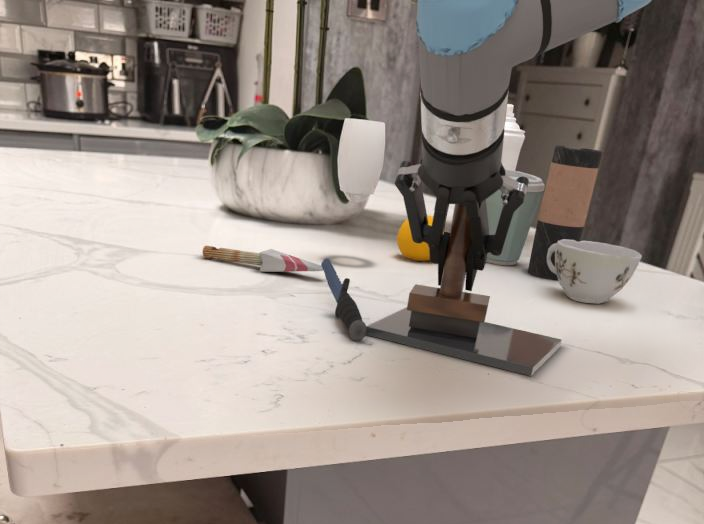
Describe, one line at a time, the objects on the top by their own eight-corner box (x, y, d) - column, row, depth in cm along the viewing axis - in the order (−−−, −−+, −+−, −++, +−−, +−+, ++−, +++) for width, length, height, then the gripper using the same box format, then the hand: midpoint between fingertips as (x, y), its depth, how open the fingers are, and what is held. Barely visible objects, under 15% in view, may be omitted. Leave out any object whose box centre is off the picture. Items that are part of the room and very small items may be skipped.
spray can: (453, 241, 152) (478, 100, 140) (461, 234, 161) (485, 101, 149) (511, 251, 150) (542, 107, 138) (516, 243, 159) (545, 108, 146)
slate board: (560, 347, 93) (562, 339, 93) (530, 376, 82) (533, 367, 82) (409, 312, 101) (411, 305, 100) (364, 334, 90) (365, 326, 89)
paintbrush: (320, 261, 108) (198, 243, 115) (319, 280, 109) (199, 262, 116) (331, 257, 111) (212, 240, 118) (329, 276, 112) (212, 258, 119)
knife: (355, 308, 84) (343, 349, 87) (375, 311, 85) (362, 352, 88) (318, 238, 103) (309, 274, 106) (335, 242, 104) (326, 277, 107)
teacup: (643, 307, 118) (659, 253, 114) (595, 313, 111) (611, 257, 107) (564, 283, 128) (577, 233, 124) (515, 287, 121) (527, 235, 117)
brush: (483, 329, 92) (508, 206, 85) (480, 339, 88) (507, 211, 81) (410, 317, 94) (429, 195, 87) (404, 327, 89) (423, 200, 83)
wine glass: (379, 263, 126) (397, 124, 116) (354, 268, 121) (371, 122, 111) (343, 254, 130) (358, 118, 120) (318, 259, 124) (331, 117, 114)
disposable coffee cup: (539, 266, 138) (560, 177, 131) (501, 270, 132) (521, 176, 124) (494, 254, 145) (511, 168, 138) (456, 256, 139) (472, 167, 131)
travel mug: (555, 282, 128) (587, 151, 118) (517, 271, 132) (545, 144, 122) (578, 278, 132) (612, 152, 123) (541, 268, 137) (570, 146, 127)
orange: (420, 253, 138) (427, 209, 134) (449, 263, 132) (457, 218, 129) (385, 254, 134) (392, 209, 130) (413, 264, 128) (421, 217, 125)
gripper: (369, 149, 70) (386, 294, 92) (540, 172, 67) (515, 317, 89) (390, 85, 72) (402, 242, 94) (558, 104, 69) (529, 263, 91)
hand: (457, 278), depth 92 cm, fingers closed on brush, 3 cm apart
